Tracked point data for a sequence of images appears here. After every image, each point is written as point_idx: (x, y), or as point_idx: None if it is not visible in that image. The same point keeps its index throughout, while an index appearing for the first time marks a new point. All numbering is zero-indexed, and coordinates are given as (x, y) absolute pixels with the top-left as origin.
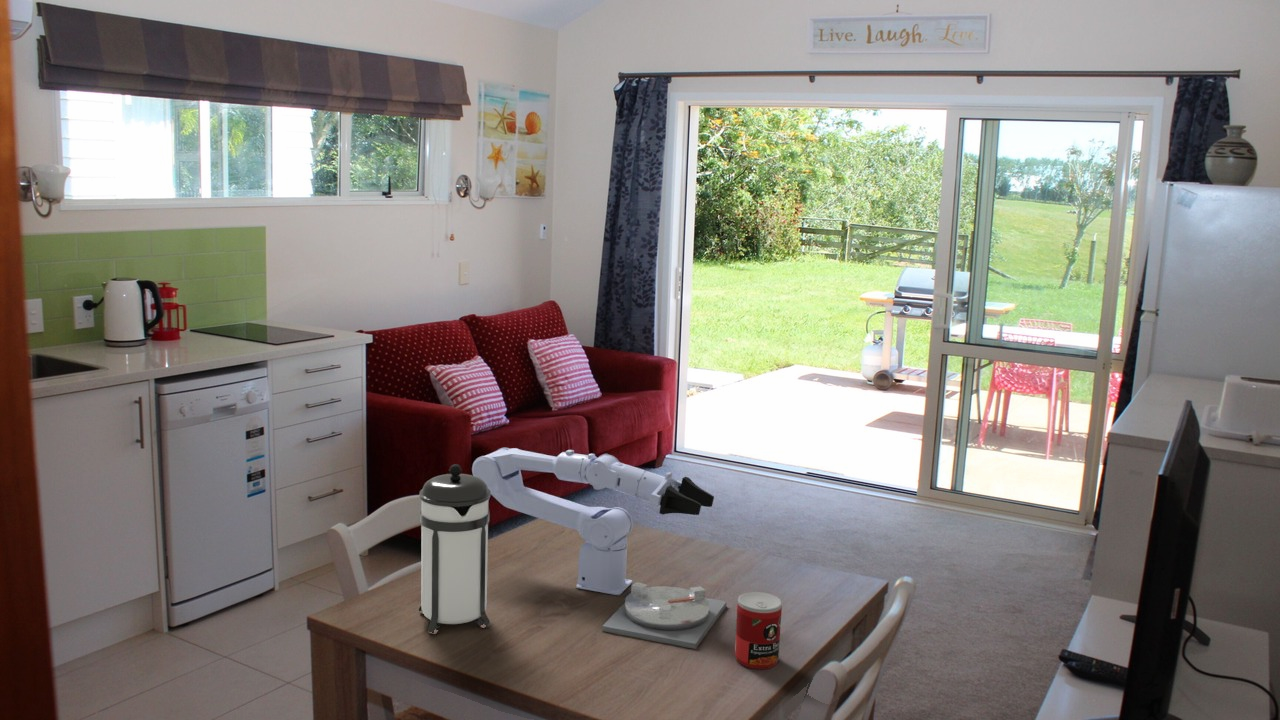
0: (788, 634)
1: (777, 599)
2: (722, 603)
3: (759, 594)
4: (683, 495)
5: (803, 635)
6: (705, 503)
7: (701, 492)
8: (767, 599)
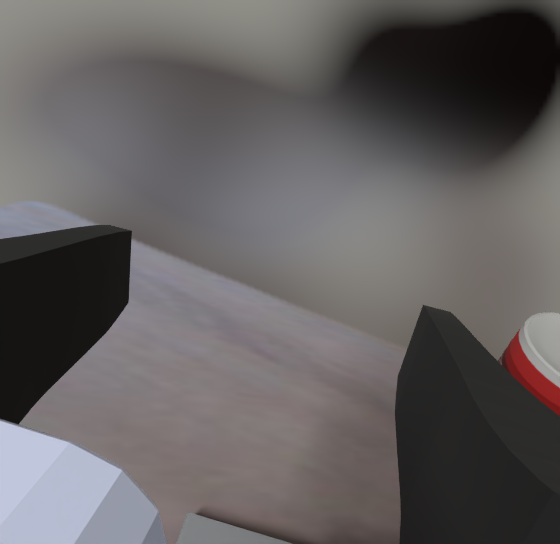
0: (338, 378)
1: (544, 317)
2: (208, 527)
3: (540, 350)
4: (486, 388)
5: (332, 353)
6: (102, 315)
7: (59, 265)
8: (550, 338)
